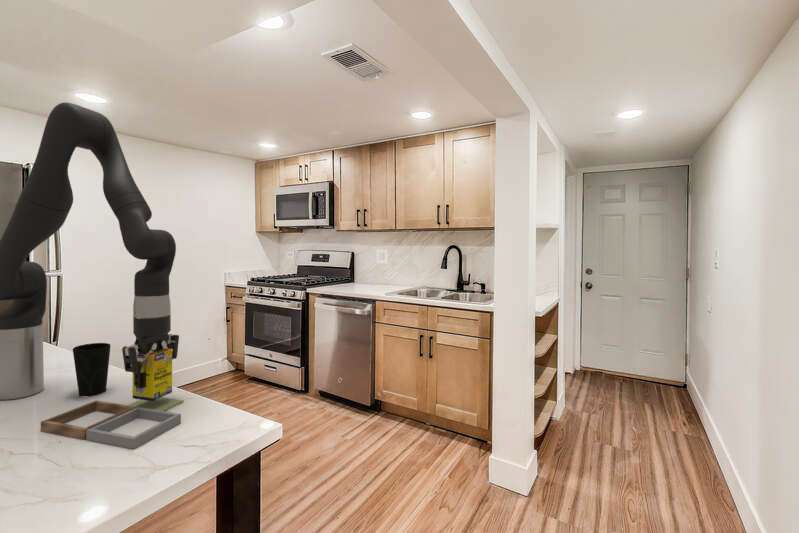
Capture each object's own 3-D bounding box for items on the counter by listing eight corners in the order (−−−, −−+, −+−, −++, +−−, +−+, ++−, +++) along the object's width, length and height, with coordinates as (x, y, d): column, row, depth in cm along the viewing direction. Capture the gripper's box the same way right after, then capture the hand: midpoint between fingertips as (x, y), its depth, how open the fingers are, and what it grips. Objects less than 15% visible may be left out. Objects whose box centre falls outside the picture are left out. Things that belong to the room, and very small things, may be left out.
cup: (66, 394, 100) (65, 348, 99) (99, 385, 107) (98, 341, 106) (85, 400, 97) (84, 352, 96) (117, 389, 104) (117, 345, 103)
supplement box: (153, 401, 91) (153, 355, 91) (131, 399, 92) (131, 353, 92) (173, 392, 97) (173, 348, 96) (152, 389, 98) (152, 346, 98)
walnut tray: (40, 431, 81) (40, 421, 81) (96, 408, 92) (96, 400, 92) (84, 439, 78) (84, 430, 78) (136, 415, 90) (136, 406, 90)
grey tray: (86, 440, 78) (86, 430, 78) (137, 415, 90) (137, 407, 90) (133, 449, 76) (133, 439, 76) (180, 422, 87) (180, 414, 87)
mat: (120, 409, 92) (120, 407, 92) (150, 397, 100) (150, 395, 100) (156, 415, 90) (156, 413, 90) (183, 402, 98) (183, 400, 98)
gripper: (164, 307, 101) (164, 372, 102) (110, 317, 88) (111, 391, 89) (188, 310, 100) (188, 375, 101) (138, 320, 86) (139, 396, 87)
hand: (152, 382), depth 95 cm, fingers closed on supplement box, 6 cm apart
